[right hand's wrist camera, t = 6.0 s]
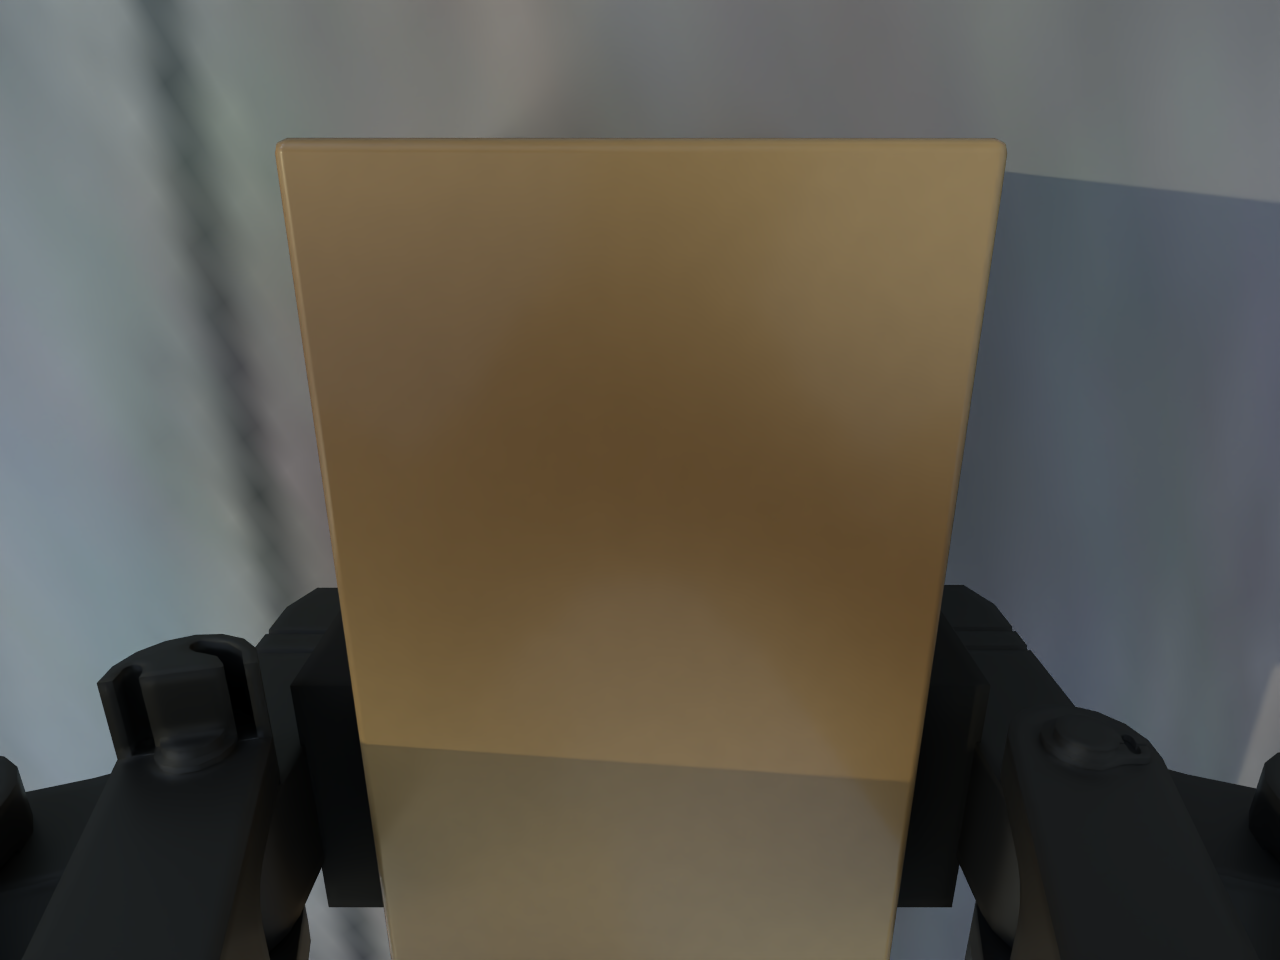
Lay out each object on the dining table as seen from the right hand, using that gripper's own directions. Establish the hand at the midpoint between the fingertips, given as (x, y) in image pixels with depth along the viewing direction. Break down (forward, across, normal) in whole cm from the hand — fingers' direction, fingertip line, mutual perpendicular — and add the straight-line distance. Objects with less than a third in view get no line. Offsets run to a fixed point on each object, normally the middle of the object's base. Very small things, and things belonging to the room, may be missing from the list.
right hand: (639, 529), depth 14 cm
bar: (+1, 0, -32) cm, 32 cm away
